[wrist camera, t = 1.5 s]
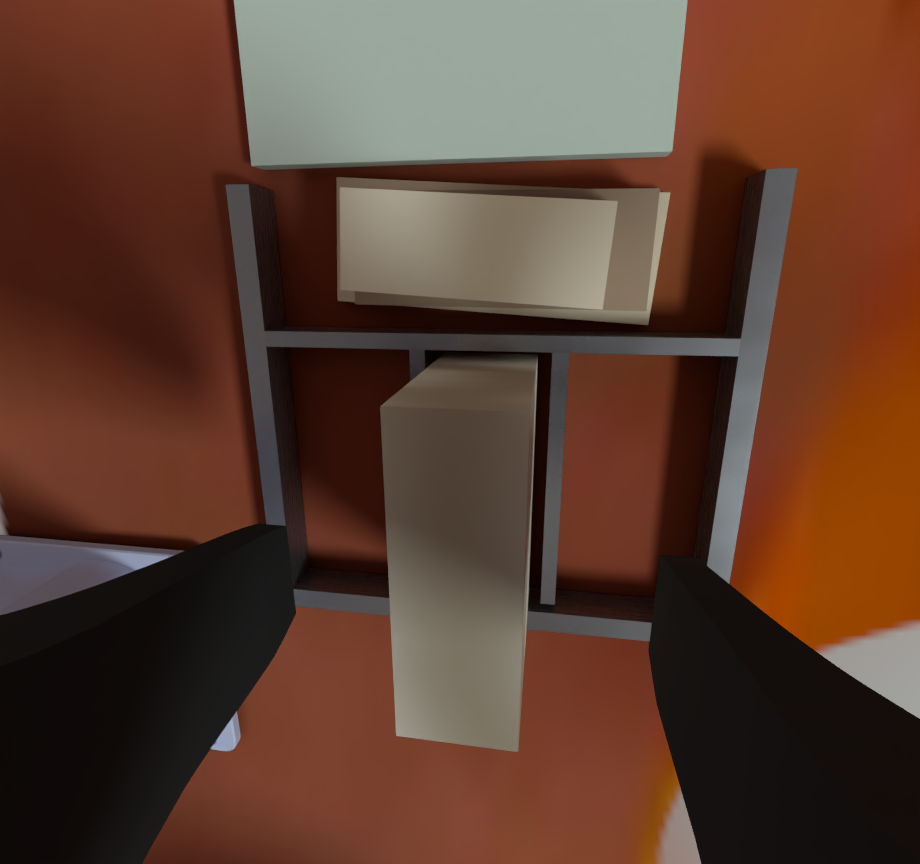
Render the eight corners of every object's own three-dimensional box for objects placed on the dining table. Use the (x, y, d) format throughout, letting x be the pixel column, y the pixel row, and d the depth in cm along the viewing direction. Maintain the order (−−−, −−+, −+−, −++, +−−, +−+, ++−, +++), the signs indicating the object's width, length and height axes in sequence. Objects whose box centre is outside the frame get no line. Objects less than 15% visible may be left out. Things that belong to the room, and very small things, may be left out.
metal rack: (293, 582, 18) (275, 604, 16) (251, 191, 14) (225, 184, 13) (706, 620, 16) (718, 648, 15) (775, 176, 12) (797, 167, 11)
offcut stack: (348, 298, 15) (312, 305, 13) (348, 181, 14) (309, 165, 12) (642, 321, 14) (660, 332, 12) (663, 196, 13) (687, 183, 11)
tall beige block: (448, 576, 17) (395, 735, 11) (445, 352, 15) (380, 406, 9) (529, 583, 16) (517, 752, 11) (538, 354, 14) (529, 411, 9)
